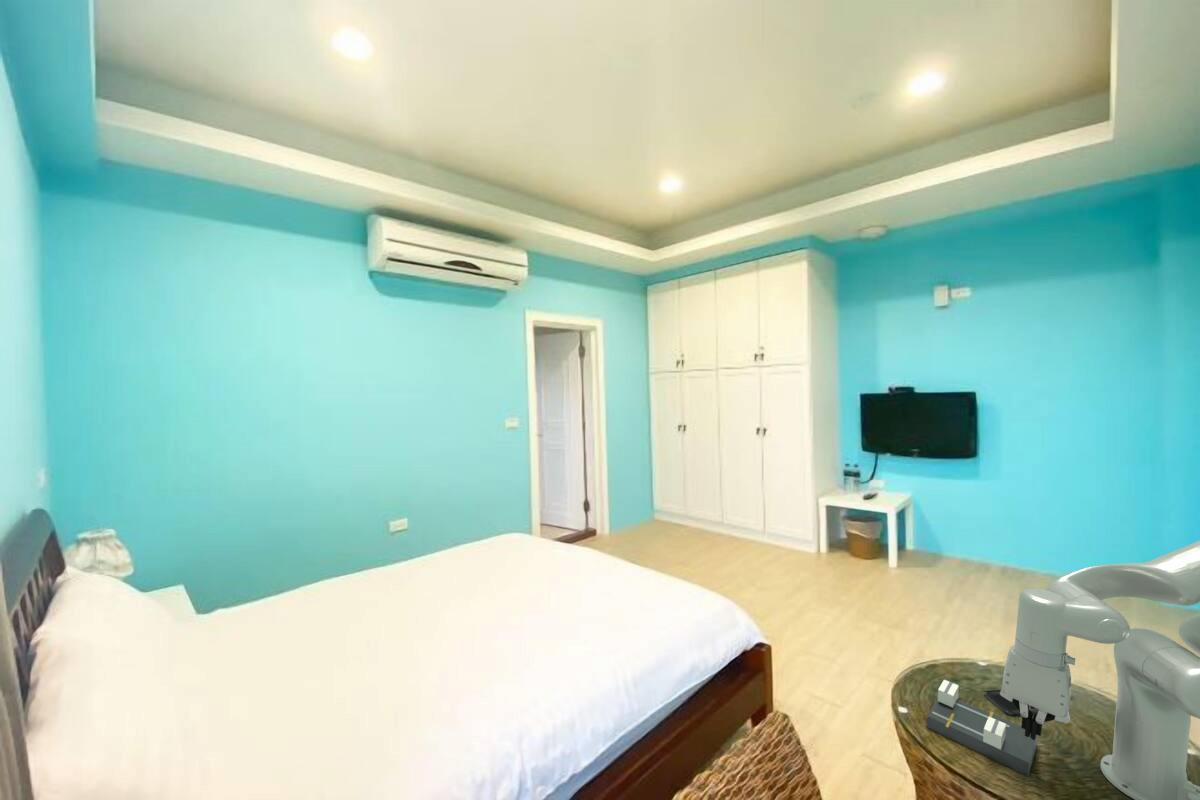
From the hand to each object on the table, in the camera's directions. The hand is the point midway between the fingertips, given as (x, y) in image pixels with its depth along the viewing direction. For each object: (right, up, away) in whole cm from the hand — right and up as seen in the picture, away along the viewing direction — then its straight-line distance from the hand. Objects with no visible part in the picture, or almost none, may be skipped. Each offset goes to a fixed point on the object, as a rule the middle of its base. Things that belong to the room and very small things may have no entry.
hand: (1030, 734), depth 100 cm
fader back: (-5, -3, +17) cm, 18 cm away
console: (-3, -7, +10) cm, 13 cm away
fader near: (-3, -5, +5) cm, 8 cm away
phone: (+16, -6, +20) cm, 26 cm away
